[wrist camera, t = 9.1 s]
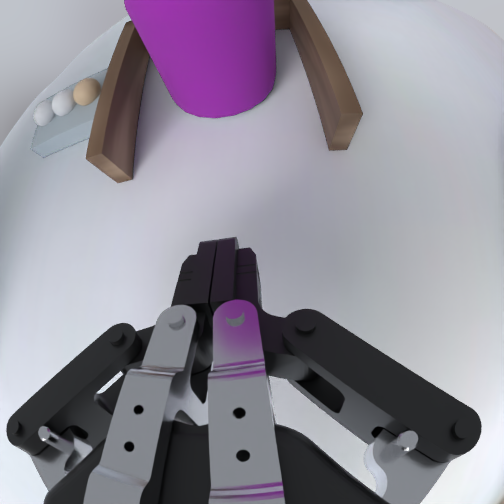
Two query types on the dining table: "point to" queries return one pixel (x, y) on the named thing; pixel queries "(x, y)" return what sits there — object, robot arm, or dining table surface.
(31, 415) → the robot arm
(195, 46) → the beverage can
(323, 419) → the dining table surface
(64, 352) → the dining table surface
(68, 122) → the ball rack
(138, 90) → the walnut U-seat
